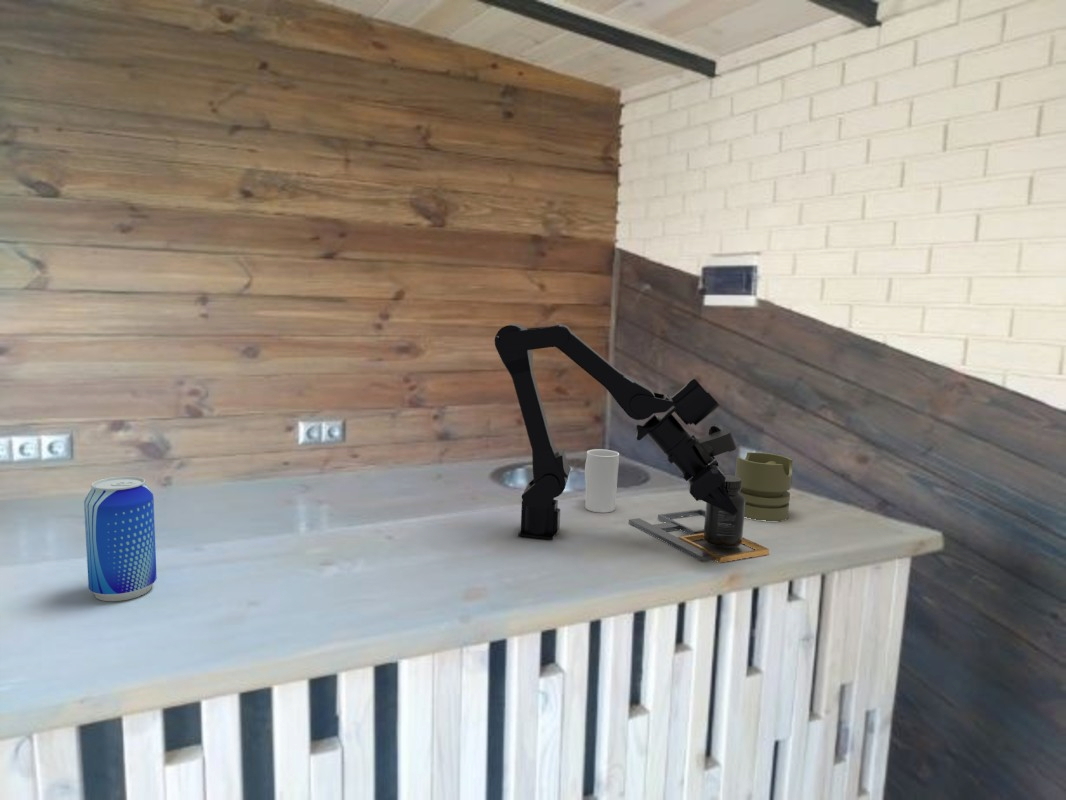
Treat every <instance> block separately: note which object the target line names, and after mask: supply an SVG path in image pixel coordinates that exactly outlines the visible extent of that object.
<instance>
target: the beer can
mask: <svg viewBox="0 0 1066 800" xmlns="http://www.w3.org/2000/svg"><path fill="white" fill-rule="evenodd" d="M90 487H91V489H90V490H89V492H88V494H87V495H86V497H85V498H84V500H83V508H84V509H83V510H84V525H85V527H84V528H85V543H86V544H85V545H86V561H87V562H86V564H87V565H86V567H87V580H88V581H87V582H88V590H89V592H91V593H93V594H94V596H95V598H96V599H98V600H99V601H100V600H101V601H104V602H121V601H122V602H123V601H127V600H131V599H136V598H139V597H141V595H142V596H143V595H145V594H147V593H148V592H150V590H151V588H152V586H153V585H154V584H155V582H156V581H157V579H158V576H157V555H156V554H157V552H156V531H155V530H156V529H155V528H156V527H155V503H154V502H155V501H154V499H155V498H154V494H153V492H152V491H151V489H150V488H149V487H148V486H147V484H146V479H145V478H144V477H139V476H135V475H134V476H133V475H132V476H131V475H130V476H129V475H127V476H126V475H125V476H112V477H106V478H103V479H98V480H95V481H92V482H91V484H90Z"/></svg>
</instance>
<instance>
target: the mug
mask: <svg viewBox="0 0 1066 800" xmlns="http://www.w3.org/2000/svg"><path fill="white" fill-rule="evenodd" d="M619 462H620V453H619V452H618V451H616V450H611V449H610V450H609V449H602V448H601V449H599V448H598V449H596V448H594V449H589V450H587V451H586V461H585V464H584V465H585V466H584V479H585V503H584V504H585V506H584V507H585V509H586V510H587V511H589V512H594V513H598V514H600V513H601V514H605V513H606V514H607V513H612V512H614V511H615V509H616V500H617V486H618V474H619Z"/></svg>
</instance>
